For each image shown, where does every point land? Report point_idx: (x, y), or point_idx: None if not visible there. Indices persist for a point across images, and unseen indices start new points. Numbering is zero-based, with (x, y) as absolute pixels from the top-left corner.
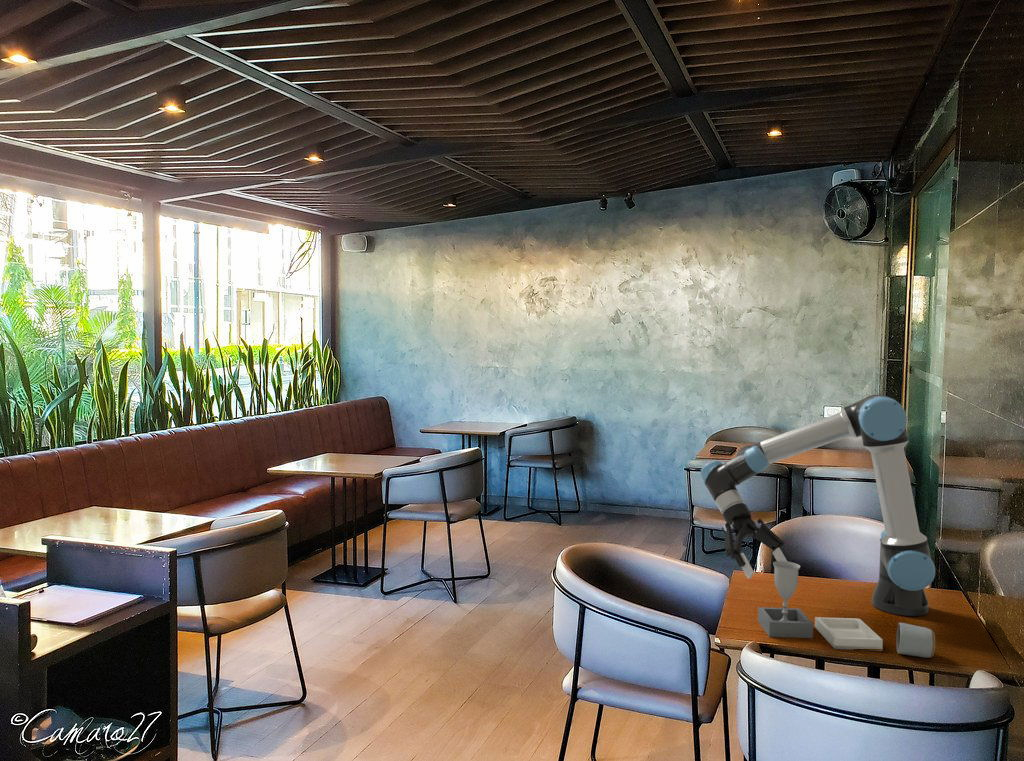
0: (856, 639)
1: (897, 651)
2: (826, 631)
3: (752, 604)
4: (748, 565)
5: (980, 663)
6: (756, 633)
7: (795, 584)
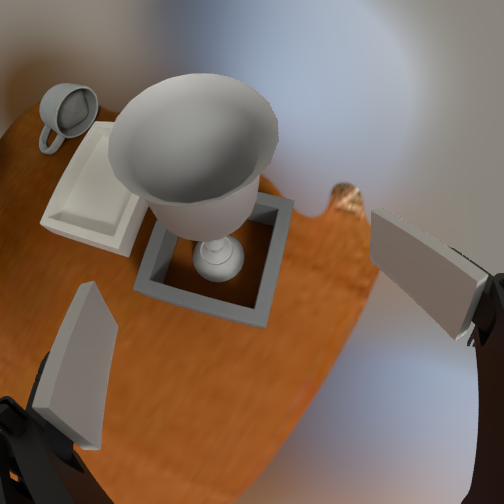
0: None
1: (87, 127)
2: None
3: (205, 454)
4: (417, 228)
5: None
6: (309, 243)
7: (187, 142)
